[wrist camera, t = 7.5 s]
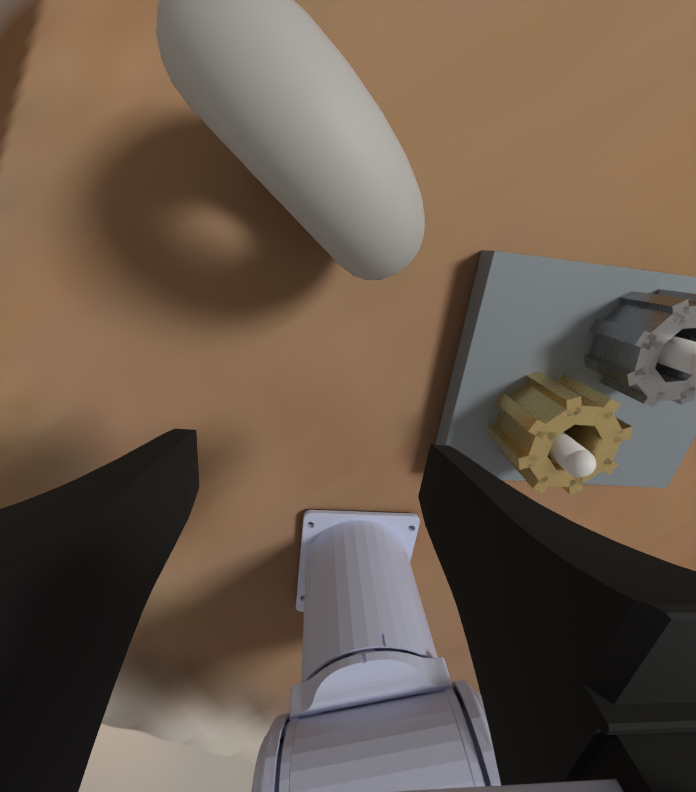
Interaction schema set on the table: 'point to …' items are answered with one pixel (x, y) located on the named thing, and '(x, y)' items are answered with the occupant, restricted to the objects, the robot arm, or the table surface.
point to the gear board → (560, 363)
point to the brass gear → (556, 429)
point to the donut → (298, 125)
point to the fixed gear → (644, 346)
